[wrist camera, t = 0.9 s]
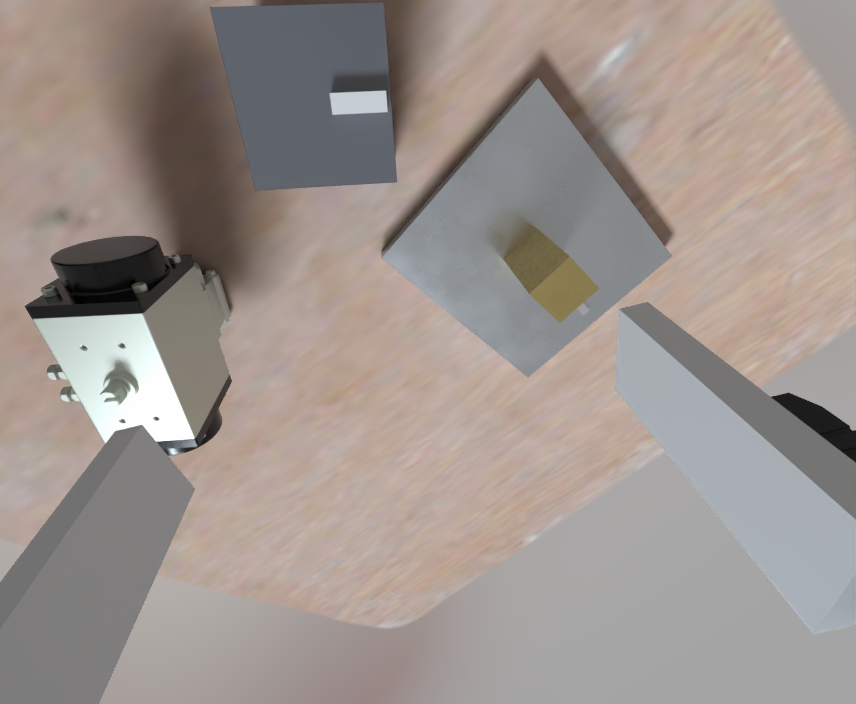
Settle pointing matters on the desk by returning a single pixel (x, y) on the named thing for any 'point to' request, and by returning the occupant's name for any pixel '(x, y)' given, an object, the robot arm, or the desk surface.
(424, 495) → the desk surface
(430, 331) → the desk surface
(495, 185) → the grey peg base
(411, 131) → the desk surface
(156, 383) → the pneumatic valve
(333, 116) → the grey cabinet with handle
